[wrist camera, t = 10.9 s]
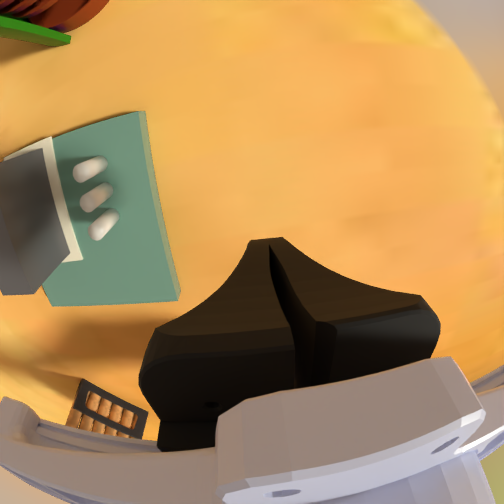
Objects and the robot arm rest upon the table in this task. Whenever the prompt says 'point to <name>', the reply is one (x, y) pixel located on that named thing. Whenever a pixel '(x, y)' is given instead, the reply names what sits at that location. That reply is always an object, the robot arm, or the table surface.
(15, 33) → the green and brown cylinder
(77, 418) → the ammunition clip
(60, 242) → the block
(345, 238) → the table surface
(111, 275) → the header board
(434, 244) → the table surface
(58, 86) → the table surface
